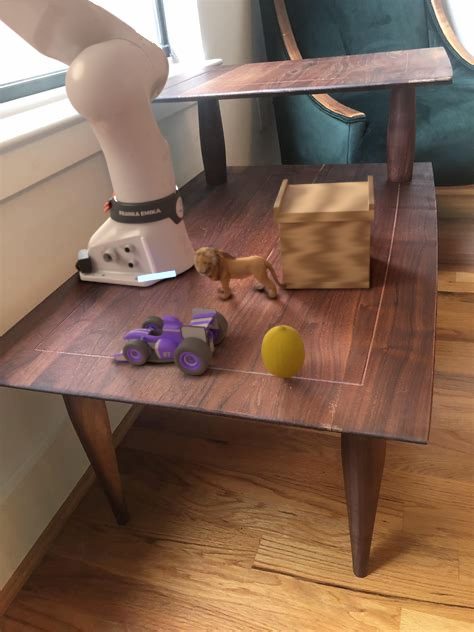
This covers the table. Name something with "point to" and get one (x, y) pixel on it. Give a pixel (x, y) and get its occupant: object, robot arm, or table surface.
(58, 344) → the table surface
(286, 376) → the lemon
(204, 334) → the toy race car
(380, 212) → the table surface
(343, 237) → the wooden crate box
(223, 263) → the lion figurine
